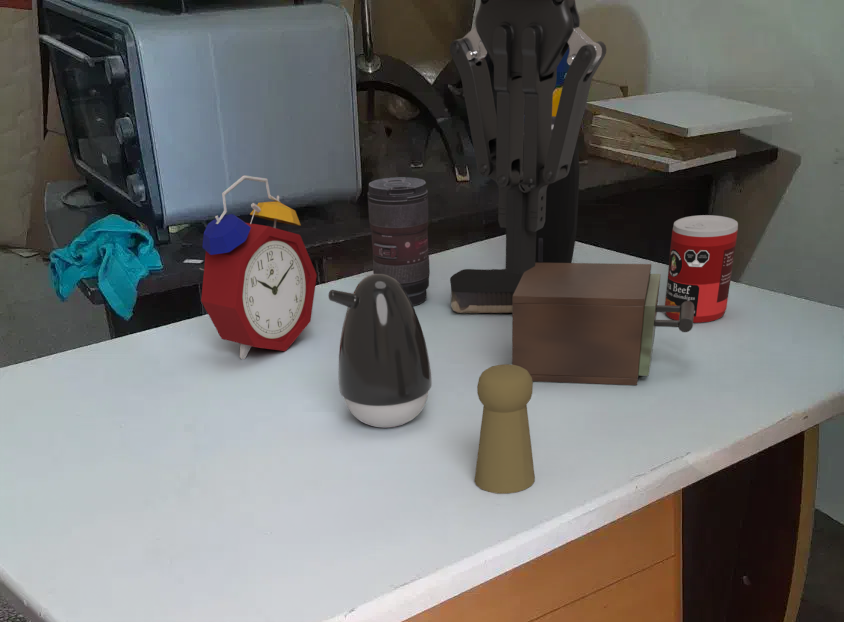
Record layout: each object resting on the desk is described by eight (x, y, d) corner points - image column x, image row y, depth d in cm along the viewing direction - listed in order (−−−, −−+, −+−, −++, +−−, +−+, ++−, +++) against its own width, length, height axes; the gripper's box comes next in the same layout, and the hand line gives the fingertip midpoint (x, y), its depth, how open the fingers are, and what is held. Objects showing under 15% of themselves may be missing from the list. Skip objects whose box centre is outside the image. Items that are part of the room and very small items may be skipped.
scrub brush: (570, 295, 142) (571, 267, 139) (566, 316, 135) (567, 287, 133) (455, 295, 144) (454, 268, 142) (446, 315, 138) (445, 287, 136)
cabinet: (643, 346, 126) (651, 263, 120) (636, 385, 117) (644, 298, 111) (527, 342, 129) (528, 262, 123) (511, 380, 120) (512, 296, 113)
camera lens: (438, 304, 142) (434, 185, 132) (382, 312, 140) (374, 192, 130) (423, 288, 148) (418, 172, 138) (369, 295, 146) (360, 179, 136)
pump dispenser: (330, 410, 116) (314, 268, 106) (416, 394, 118) (408, 254, 108) (355, 444, 109) (340, 296, 99) (446, 427, 111) (441, 280, 101)
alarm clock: (246, 370, 127) (217, 192, 113) (198, 357, 131) (165, 184, 118) (324, 333, 135) (305, 164, 122) (277, 323, 139) (254, 158, 126)
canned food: (653, 309, 136) (662, 219, 129) (707, 301, 137) (718, 211, 130) (681, 327, 130) (692, 234, 123) (736, 318, 132) (750, 226, 125)
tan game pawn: (464, 473, 102) (462, 364, 95) (519, 461, 104) (521, 352, 96) (488, 498, 98) (488, 386, 91) (545, 485, 99) (549, 374, 92)
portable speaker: (531, 263, 154) (535, 113, 141) (586, 271, 150) (594, 117, 137) (501, 278, 149) (502, 124, 136) (556, 287, 145) (563, 129, 132)
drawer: (689, 341, 124) (698, 274, 119) (686, 377, 116) (695, 306, 110) (544, 337, 127) (546, 271, 122) (531, 372, 119) (533, 302, 114)
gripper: (633, -79, 73) (606, 267, 89) (479, -76, 79) (479, 248, 95) (586, -72, 69) (566, 291, 84) (426, -70, 75) (435, 270, 90)
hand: (520, 268), depth 90 cm, fingers closed
